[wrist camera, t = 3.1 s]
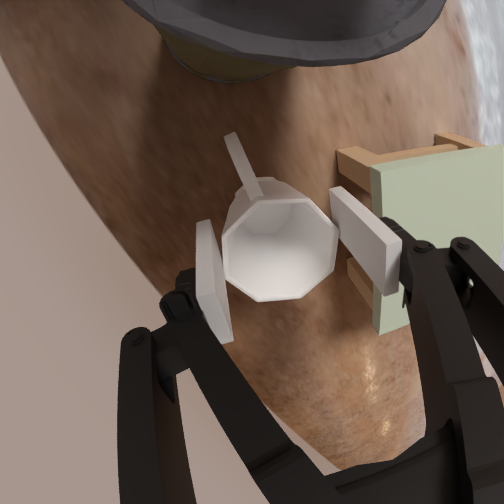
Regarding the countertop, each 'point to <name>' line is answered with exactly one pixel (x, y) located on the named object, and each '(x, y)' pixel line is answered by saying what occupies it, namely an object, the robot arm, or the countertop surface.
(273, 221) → the cup
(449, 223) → the stool
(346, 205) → the robot arm
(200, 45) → the canister
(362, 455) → the countertop surface
